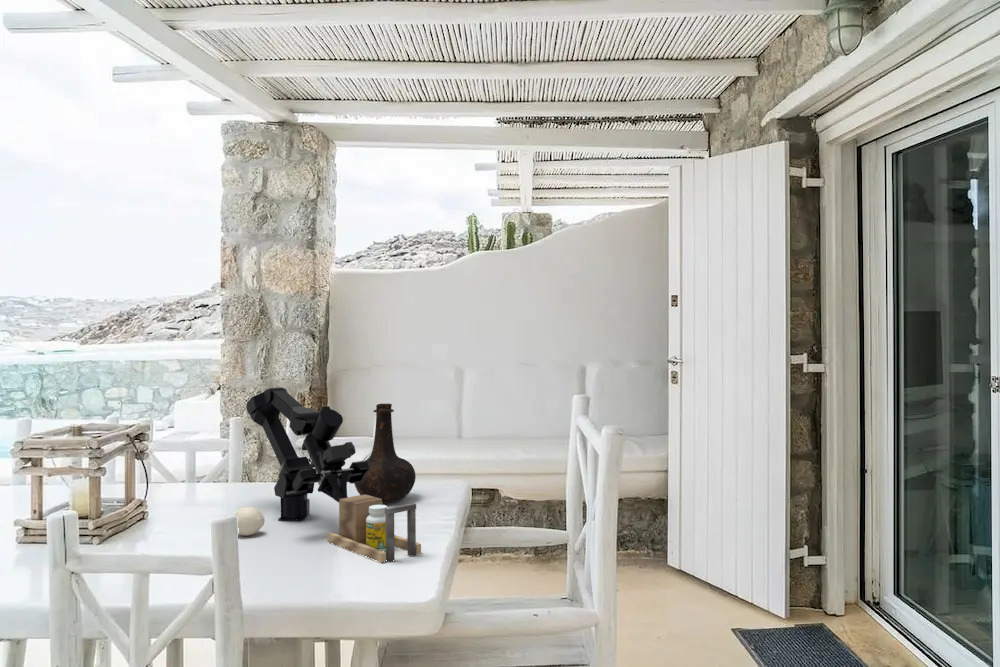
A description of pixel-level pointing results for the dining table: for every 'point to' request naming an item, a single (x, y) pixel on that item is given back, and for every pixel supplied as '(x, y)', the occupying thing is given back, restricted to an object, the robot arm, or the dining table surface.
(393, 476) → the glass bottle
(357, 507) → the block
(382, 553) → the channel
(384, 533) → the supplement bottle
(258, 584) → the dining table surface
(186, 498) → the dining table surface
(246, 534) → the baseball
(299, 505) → the robot arm
